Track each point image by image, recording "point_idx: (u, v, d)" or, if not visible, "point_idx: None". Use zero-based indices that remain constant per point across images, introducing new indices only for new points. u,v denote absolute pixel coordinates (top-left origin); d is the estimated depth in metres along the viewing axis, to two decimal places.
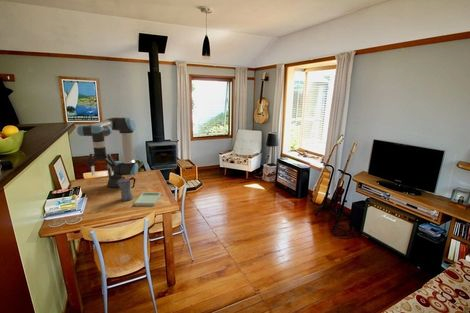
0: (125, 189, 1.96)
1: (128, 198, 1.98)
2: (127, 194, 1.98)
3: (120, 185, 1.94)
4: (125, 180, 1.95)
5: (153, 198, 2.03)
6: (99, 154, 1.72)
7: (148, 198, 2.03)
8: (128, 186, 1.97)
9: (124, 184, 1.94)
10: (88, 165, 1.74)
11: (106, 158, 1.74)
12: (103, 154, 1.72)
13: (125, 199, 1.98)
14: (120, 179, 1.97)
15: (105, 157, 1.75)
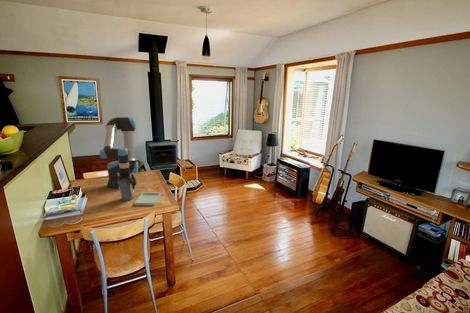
0: (125, 189, 1.96)
1: (128, 198, 1.98)
2: (127, 194, 1.98)
3: (120, 185, 1.94)
4: (125, 180, 1.95)
5: (153, 198, 2.03)
6: (124, 173, 1.95)
7: (148, 198, 2.03)
8: (128, 186, 1.97)
9: (124, 184, 1.94)
10: (116, 184, 1.98)
11: (129, 177, 1.98)
12: (128, 173, 1.96)
13: (125, 199, 1.98)
14: None
15: (128, 176, 1.99)
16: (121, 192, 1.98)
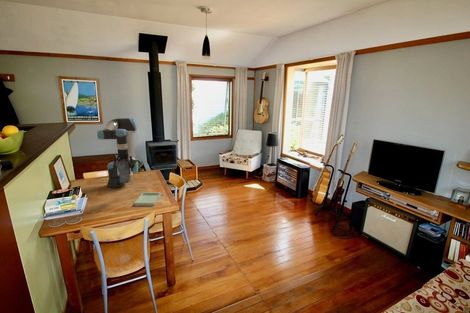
0: (123, 171, 1.92)
1: (126, 180, 1.95)
2: (125, 176, 1.94)
3: (118, 167, 1.91)
4: (124, 162, 1.91)
5: (153, 198, 2.03)
6: (122, 155, 1.92)
7: (148, 198, 2.03)
8: (127, 168, 1.93)
9: (122, 166, 1.90)
10: (114, 166, 1.94)
11: (128, 159, 1.94)
12: (126, 155, 1.92)
13: (123, 181, 1.94)
14: None
15: None
16: (119, 174, 1.94)
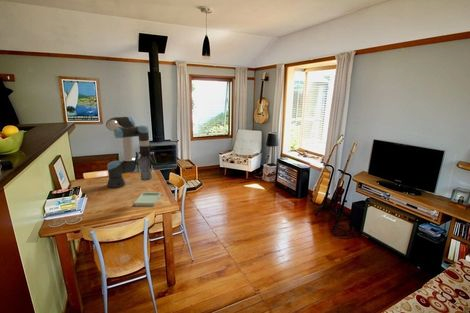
0: (145, 168, 1.90)
1: (148, 177, 1.92)
2: (147, 173, 1.92)
3: (140, 164, 1.88)
4: (145, 159, 1.89)
5: (153, 198, 2.03)
6: (144, 152, 1.89)
7: (148, 198, 2.03)
8: (148, 165, 1.91)
9: (144, 163, 1.88)
10: (136, 163, 1.92)
11: (149, 156, 1.92)
12: (148, 152, 1.90)
13: (145, 178, 1.92)
14: (140, 158, 1.91)
15: (148, 155, 1.93)
16: (141, 171, 1.92)
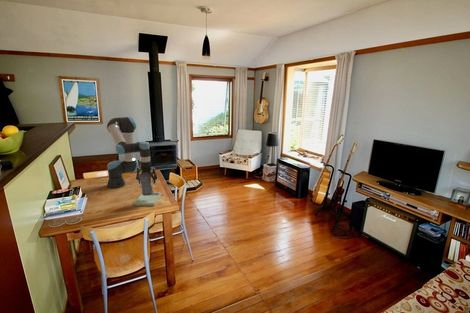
0: (146, 183, 1.93)
1: (149, 192, 1.96)
2: (148, 188, 1.95)
3: (141, 179, 1.92)
4: (146, 174, 1.92)
5: (153, 198, 2.03)
6: (145, 167, 1.93)
7: (148, 198, 2.03)
8: (149, 180, 1.94)
9: (146, 178, 1.91)
10: (137, 178, 1.95)
11: (150, 171, 1.95)
12: (149, 167, 1.93)
13: (146, 193, 1.95)
14: None
15: None
16: (142, 186, 1.95)
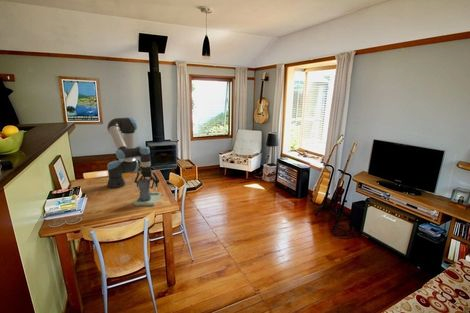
0: (145, 189, 1.95)
1: (147, 198, 1.97)
2: (146, 194, 1.97)
3: (140, 185, 1.93)
4: (146, 180, 1.94)
5: (153, 198, 2.03)
6: (145, 172, 1.94)
7: None
8: (148, 186, 1.96)
9: (145, 184, 1.93)
10: (135, 182, 1.96)
11: (151, 176, 1.96)
12: (149, 172, 1.94)
13: (144, 199, 1.96)
14: (140, 179, 1.96)
15: None
16: (140, 192, 1.96)
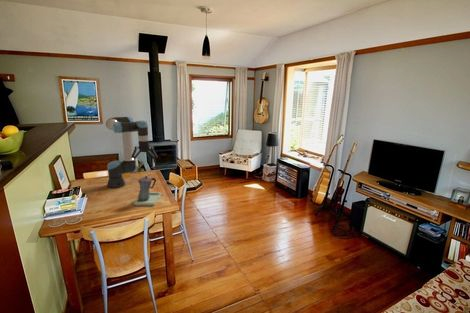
0: (145, 189, 1.95)
1: (146, 198, 1.97)
2: (146, 194, 1.97)
3: (141, 184, 1.93)
4: (147, 180, 1.94)
5: (153, 198, 2.03)
6: (143, 147, 1.89)
7: None
8: (149, 186, 1.96)
9: (146, 184, 1.93)
10: (132, 157, 1.91)
11: (149, 151, 1.91)
12: (147, 147, 1.89)
13: (142, 198, 1.96)
14: (142, 178, 1.96)
15: None
16: (140, 191, 1.96)
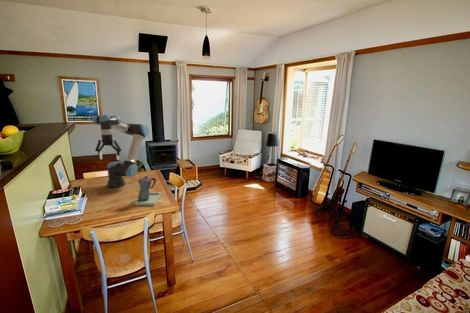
0: (145, 189, 1.95)
1: (146, 198, 1.97)
2: (146, 194, 1.97)
3: (141, 184, 1.93)
4: (147, 180, 1.94)
5: (153, 198, 2.03)
6: (106, 140, 1.94)
7: None
8: (149, 186, 1.96)
9: (146, 184, 1.93)
10: (96, 150, 1.96)
11: (112, 144, 1.96)
12: (110, 140, 1.94)
13: (142, 198, 1.96)
14: (142, 178, 1.96)
15: None
16: (140, 191, 1.96)
